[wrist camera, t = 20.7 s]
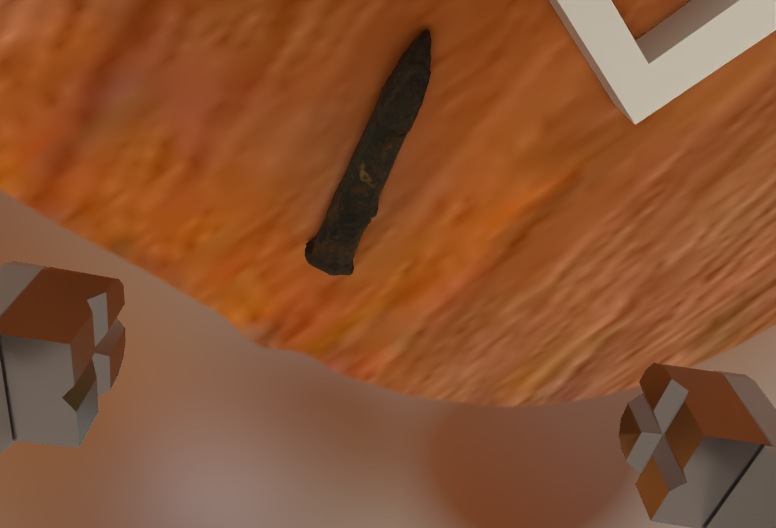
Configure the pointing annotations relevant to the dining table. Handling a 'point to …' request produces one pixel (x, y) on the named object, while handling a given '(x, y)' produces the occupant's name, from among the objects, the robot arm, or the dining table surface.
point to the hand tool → (372, 162)
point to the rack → (662, 46)
